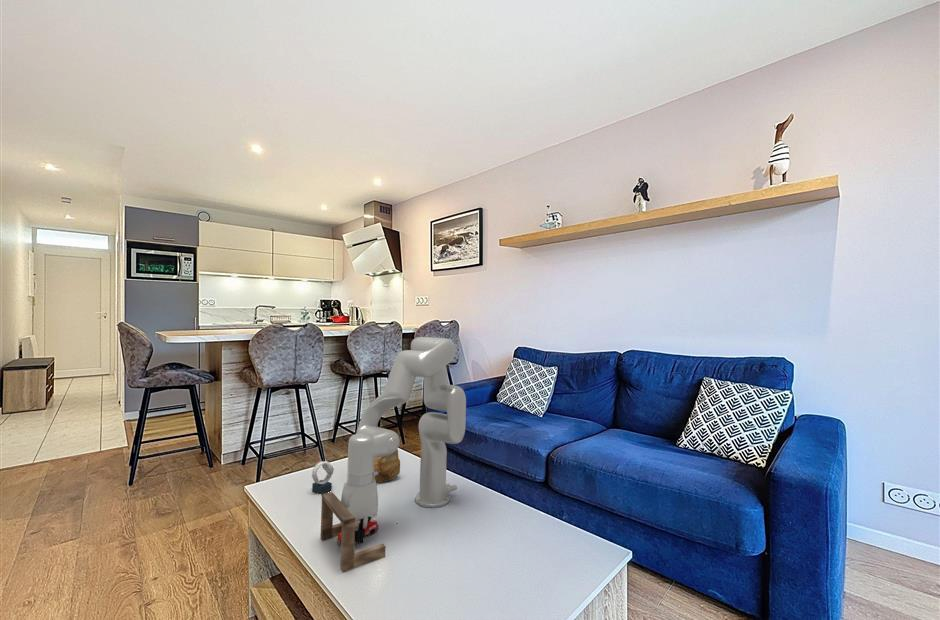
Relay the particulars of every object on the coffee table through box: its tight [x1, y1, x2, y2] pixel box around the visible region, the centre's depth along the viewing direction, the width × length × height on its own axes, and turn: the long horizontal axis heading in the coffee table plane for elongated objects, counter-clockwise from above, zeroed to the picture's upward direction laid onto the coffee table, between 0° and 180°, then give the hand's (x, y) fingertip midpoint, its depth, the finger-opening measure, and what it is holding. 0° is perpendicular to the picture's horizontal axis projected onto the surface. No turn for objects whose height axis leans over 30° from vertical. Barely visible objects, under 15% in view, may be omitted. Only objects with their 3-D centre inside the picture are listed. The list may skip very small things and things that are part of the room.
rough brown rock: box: [374, 448, 401, 483], centre depth 165 cm, size 23×17×15 cm
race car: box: [336, 518, 379, 546], centre depth 121 cm, size 13×5×4 cm, turn 139°
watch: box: [311, 460, 335, 496], centre depth 151 cm, size 6×8×11 cm
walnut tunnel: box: [319, 491, 387, 573], centre depth 115 cm, size 12×19×13 cm, turn 37°
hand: (358, 541), depth 116 cm, fingers closed
